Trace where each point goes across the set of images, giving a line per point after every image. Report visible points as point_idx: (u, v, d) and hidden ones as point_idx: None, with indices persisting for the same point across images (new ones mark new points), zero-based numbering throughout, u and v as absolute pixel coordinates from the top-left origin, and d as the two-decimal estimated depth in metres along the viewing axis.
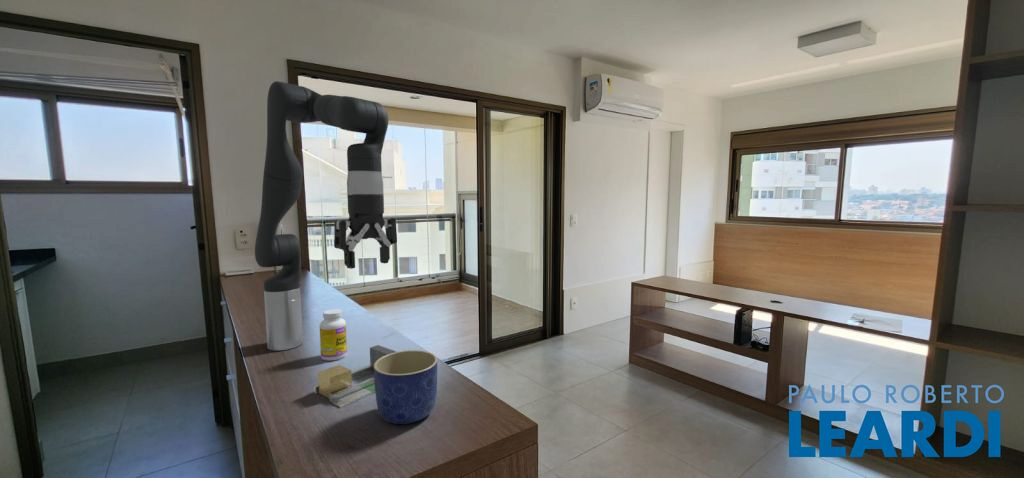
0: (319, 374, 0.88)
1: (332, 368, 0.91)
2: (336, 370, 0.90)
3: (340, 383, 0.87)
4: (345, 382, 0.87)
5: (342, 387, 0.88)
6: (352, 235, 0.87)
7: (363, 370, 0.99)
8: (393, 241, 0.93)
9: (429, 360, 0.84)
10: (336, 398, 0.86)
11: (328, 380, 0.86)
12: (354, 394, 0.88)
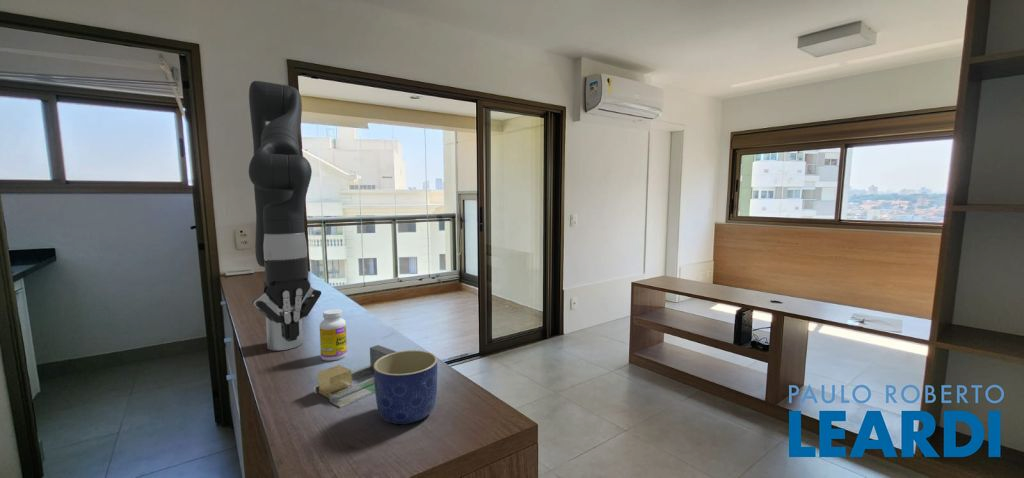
0: (319, 374, 0.88)
1: (332, 368, 0.91)
2: (336, 370, 0.90)
3: (340, 383, 0.87)
4: (345, 382, 0.87)
5: (342, 387, 0.88)
6: None
7: (363, 370, 0.99)
8: (303, 314, 0.82)
9: (429, 360, 0.84)
10: (336, 398, 0.86)
11: (328, 380, 0.86)
12: (354, 394, 0.88)
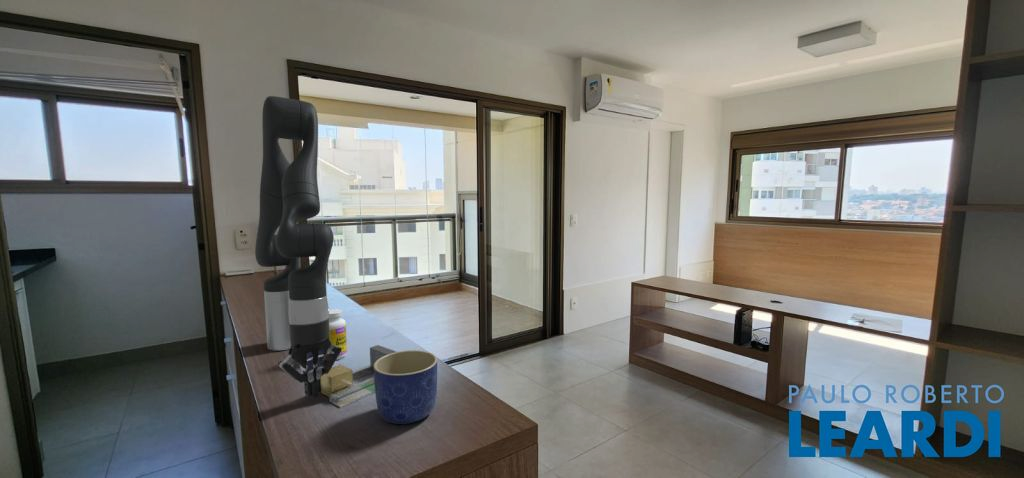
0: None
1: (333, 368, 0.91)
2: (337, 369, 0.90)
3: (341, 383, 0.88)
4: (346, 382, 0.87)
5: (343, 387, 0.89)
6: None
7: (363, 370, 0.99)
8: (325, 371, 0.86)
9: (429, 360, 0.84)
10: (336, 398, 0.86)
11: (329, 379, 0.86)
12: (354, 394, 0.88)
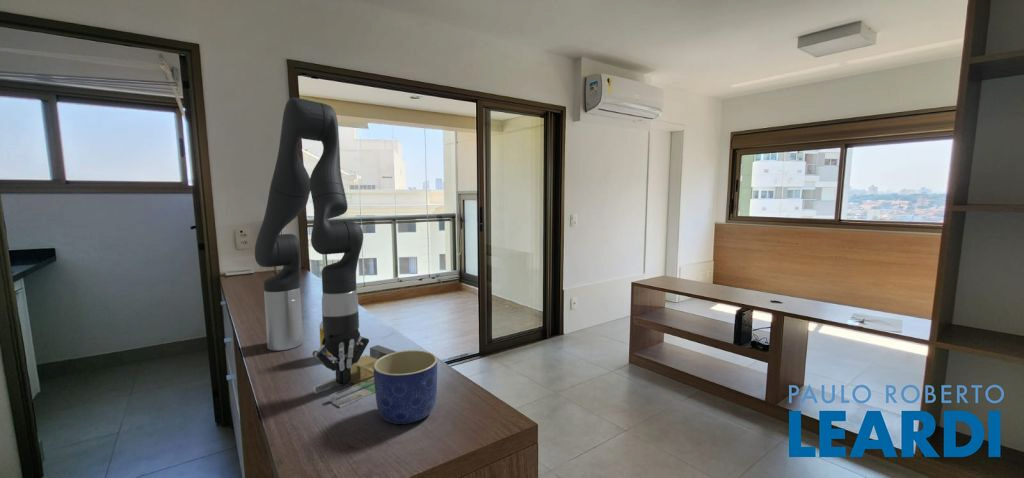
0: None
1: (361, 358, 0.96)
2: (365, 359, 0.96)
3: (369, 372, 0.93)
4: None
5: (371, 375, 0.94)
6: None
7: None
8: (354, 361, 0.92)
9: (429, 360, 0.84)
10: (336, 398, 0.86)
11: (358, 368, 0.92)
12: (354, 394, 0.88)
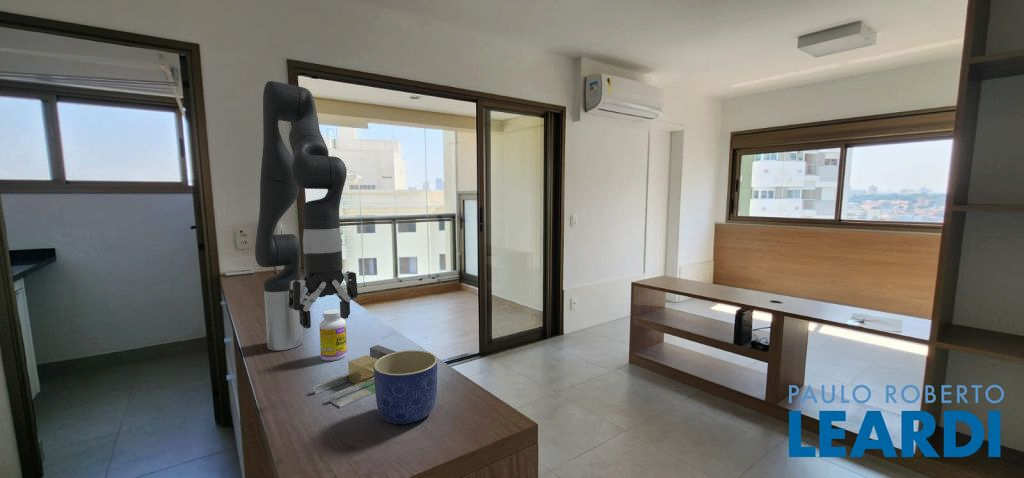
0: (349, 363, 0.94)
1: (361, 358, 0.97)
2: (365, 359, 0.96)
3: (369, 372, 0.93)
4: None
5: (371, 375, 0.94)
6: (309, 293, 0.85)
7: None
8: (353, 295, 0.91)
9: (429, 360, 0.84)
10: (336, 398, 0.86)
11: (358, 368, 0.92)
12: (354, 394, 0.88)
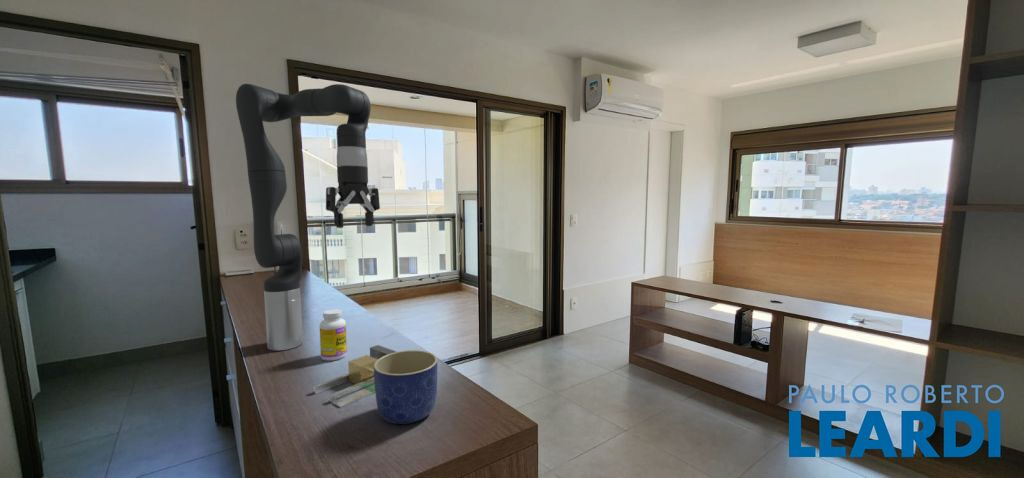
0: (349, 363, 0.94)
1: (361, 358, 0.97)
2: (365, 359, 0.96)
3: (369, 372, 0.93)
4: None
5: (371, 375, 0.94)
6: (341, 200, 1.04)
7: None
8: (376, 207, 1.10)
9: (429, 360, 0.84)
10: (336, 398, 0.86)
11: (358, 368, 0.92)
12: (354, 394, 0.88)
